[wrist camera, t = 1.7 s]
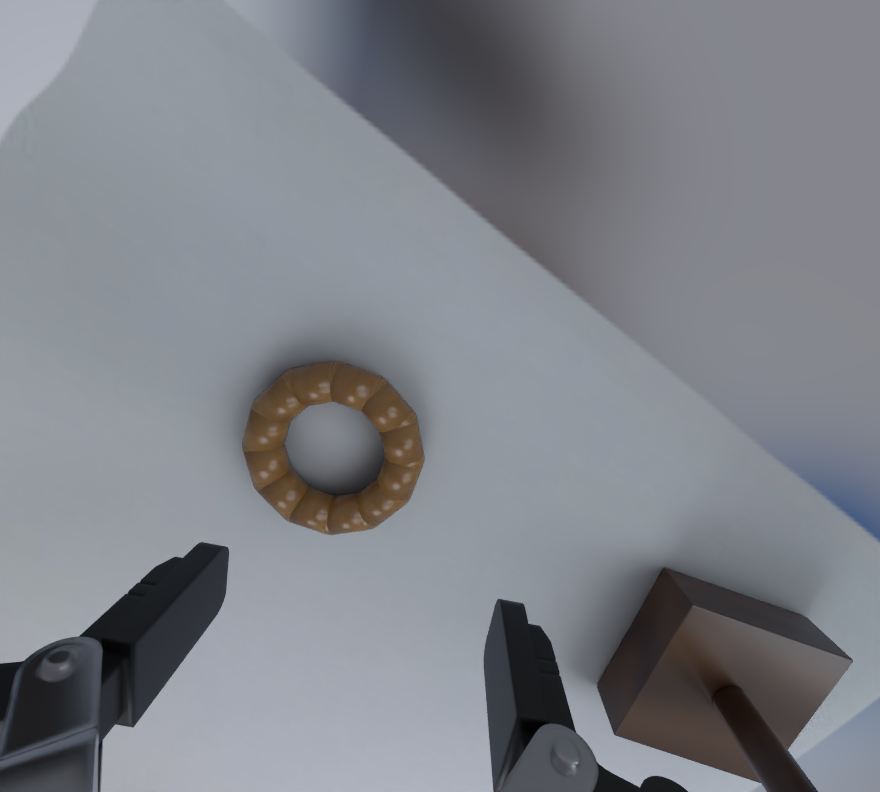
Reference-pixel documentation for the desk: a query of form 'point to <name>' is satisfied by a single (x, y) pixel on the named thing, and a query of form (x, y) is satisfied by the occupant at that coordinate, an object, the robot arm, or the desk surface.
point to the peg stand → (720, 680)
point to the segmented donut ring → (350, 390)
